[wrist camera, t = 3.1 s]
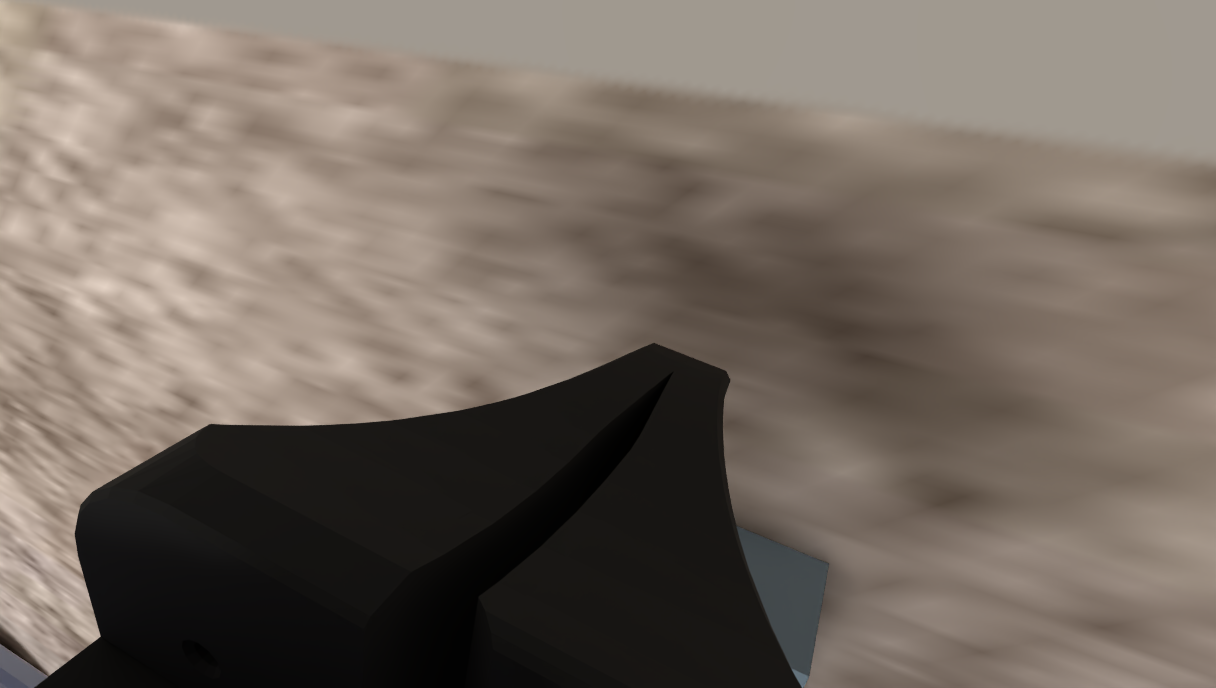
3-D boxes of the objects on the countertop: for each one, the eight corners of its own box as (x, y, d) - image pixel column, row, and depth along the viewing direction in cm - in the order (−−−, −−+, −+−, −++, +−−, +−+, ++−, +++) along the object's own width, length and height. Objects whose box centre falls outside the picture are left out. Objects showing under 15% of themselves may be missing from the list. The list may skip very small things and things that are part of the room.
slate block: (830, 554, 16) (809, 676, 13) (742, 749, 20) (710, 876, 17) (528, 431, 18) (452, 512, 15) (503, 629, 22) (438, 723, 19)
